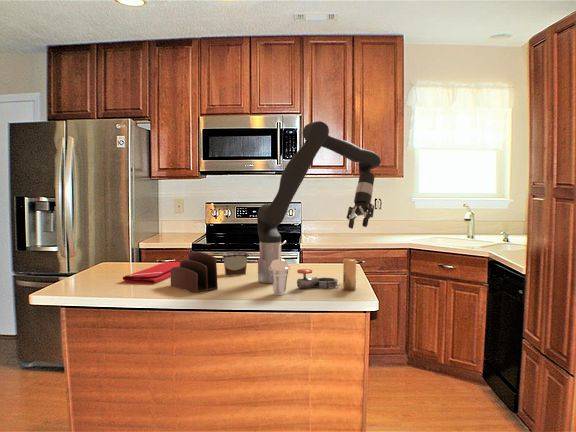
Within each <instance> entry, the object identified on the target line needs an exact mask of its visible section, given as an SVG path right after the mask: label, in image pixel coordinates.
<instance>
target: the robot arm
mask: <svg viewBox="0 0 576 432" xmlns="http://www.w3.org/2000/svg"><path fill="white" fill-rule="evenodd" d="M302 136H303V138H304V140H305V141H304V143H303V144H302V146H301V147H300V148H299V150H298V151H296V153H295V154H293V156H291V158H290V160H288V162H287V164H286V166H285V168H284V169H283V170H282V173H281V176H280V180H279V185H278V191H277V193H276V196H275V197H274V198H273V201H271V203H267V204H266V203H264V204H263V205H261V206H260V207H259V209H258V210H257V215H256V219H257V236H258V237H259V258H258V260H257V281H258V282H260V283H262V284H272V276H271V273H270V270H269V269H268V268H269V266H270V265H271V263H272V261H273V260H274V259H276V258H279V245H280V244H281V243H282V235H281V234H280V232H279V230H278V226H279V225H281V224H282V222H283V221H284V219H285V217H286V215H287V212H288V210H289V207H290V206H291V202H292V200H293V198H294V197H295V195H296V193H297V191H298V190H299V187H300V185H301V184H302V183H303V181H304V179H305V177H306V175H307V173H308V171H309V169H310V167H311V166H312V164H313V162H314V159H315V157H316V156H317V154H318V152H319V151H320V150H321V148H323V149H327V150H328V151H329V150H330V151H332V152H333V153H336V154H339V155H340V156H342V157H344V158H346V159H347V160H349V161H351V162H353V163H358V174H359V175H358V176H359V177H358V181H357V186H356V190H355V195H354V199H353V203H354V205H353V207H352V206H349V207H348V210H347V215H346V219H347V220H349V221H348V228H349V229H354V226H355V221H356V219H357V218H359V217H360V216H363V219H362V224H361V225H362V227H364V228H367V227H368V224H369V219H372V218H373V217H374V211H375V205H374V204H373V203H372V197H373V192H374V183H375V174H374V173H373V172H371V170H373V169H377V168H378V167H379V166H381V163H382V160H381V157H380V155H379V154H377V153H376V152H374V151H372V150H369V149H366V148H361V147H359V146H357V145H355V144H354V143H352V142H350V141H346V140H345V139H341V138H338V137H335V136H332V135H330V128H329V125H328V123H326V122H325V121H321V120H318V121H313V122H309V123H307V124H306V125H304V126H303V129H302ZM280 258H282V246H281V247H280Z"/></svg>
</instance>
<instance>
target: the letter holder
mask: <svg viewBox="0 0 576 432" xmlns="http://www.w3.org/2000/svg"><path fill="white" fill-rule="evenodd" d="M179 262H180V267H172V268H171V277H170V286H171V287H175V288H178V289H181V290H184V291H187V292H191V293H194V294H202V293H207V292H212V291H217V290H218V288H219V287H218V268H217V267H218V266H217V259H216V257H215V256H213V255H211V254H209V253H204V252H201V251H190V252H188V259H181V260H180V261H179Z"/></svg>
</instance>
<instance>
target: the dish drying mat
mask: <svg viewBox="0 0 576 432" xmlns="http://www.w3.org/2000/svg"><path fill="white" fill-rule="evenodd" d="M172 267H180V261H168V262H162V263H159V264H155V265H153V266H151V267H149V268H145V269H141V270H139V271H136V272H133V273H129V274H127V275H125V276H122V280H123V281H124V282H126V283H128V284H137V285H138V284H139V285H141V284H142V285H157V284H158V283H161V282H163V281H165V280H167V279H169V278H170V279H171V268H172Z"/></svg>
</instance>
